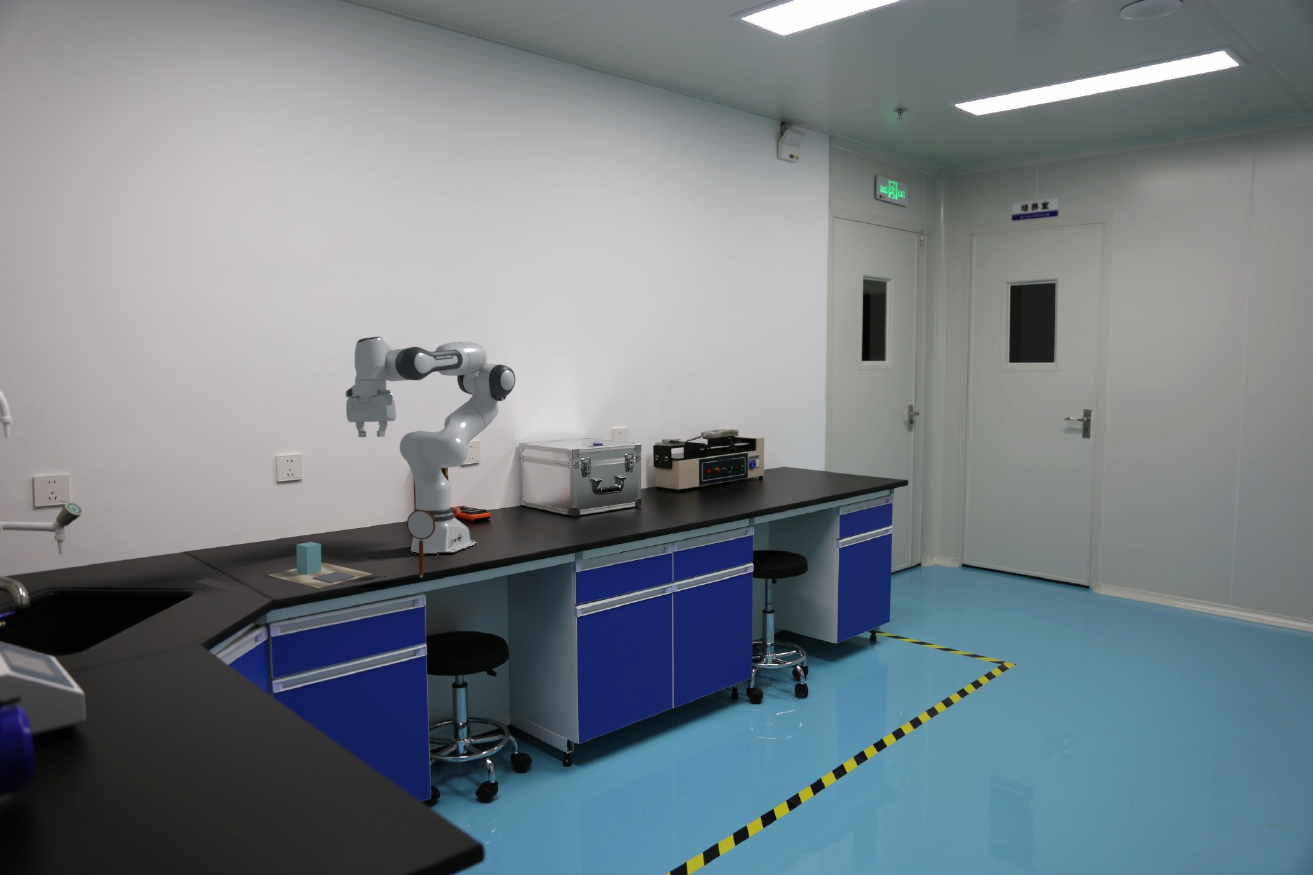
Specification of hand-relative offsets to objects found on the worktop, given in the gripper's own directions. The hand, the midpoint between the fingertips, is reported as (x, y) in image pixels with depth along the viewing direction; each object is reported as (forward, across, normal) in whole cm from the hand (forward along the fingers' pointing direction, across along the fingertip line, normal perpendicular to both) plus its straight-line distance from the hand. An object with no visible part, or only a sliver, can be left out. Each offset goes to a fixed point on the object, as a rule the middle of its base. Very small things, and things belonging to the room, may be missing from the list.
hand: (371, 437), depth 251 cm
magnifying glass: (+41, -18, -3) cm, 45 cm away
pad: (+39, -5, +16) cm, 43 cm away
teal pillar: (+38, +6, +17) cm, 42 cm away
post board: (+40, +1, +17) cm, 44 cm away
